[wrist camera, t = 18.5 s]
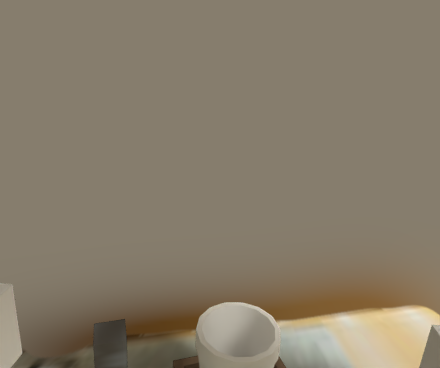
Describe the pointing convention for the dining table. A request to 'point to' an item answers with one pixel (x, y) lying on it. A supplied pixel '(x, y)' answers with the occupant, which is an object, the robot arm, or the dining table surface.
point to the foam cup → (237, 337)
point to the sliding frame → (117, 348)
